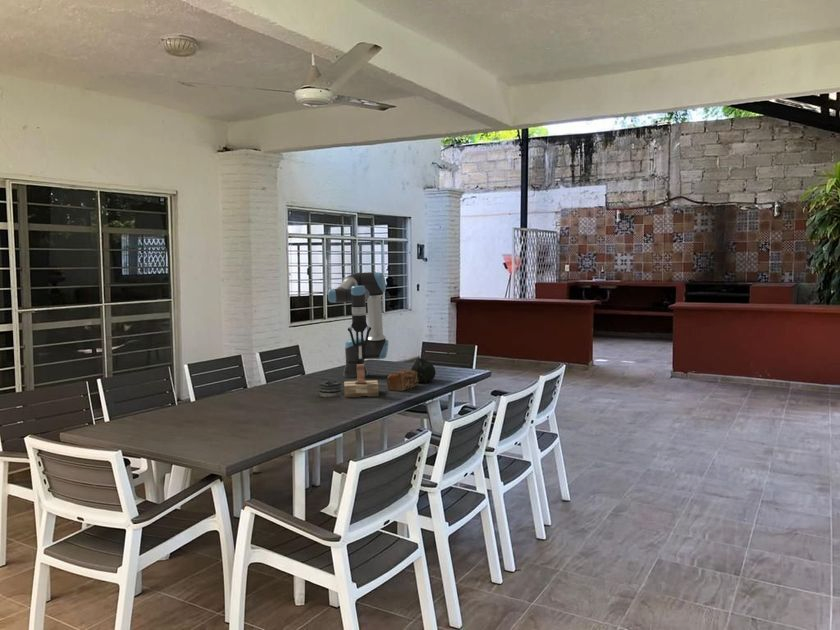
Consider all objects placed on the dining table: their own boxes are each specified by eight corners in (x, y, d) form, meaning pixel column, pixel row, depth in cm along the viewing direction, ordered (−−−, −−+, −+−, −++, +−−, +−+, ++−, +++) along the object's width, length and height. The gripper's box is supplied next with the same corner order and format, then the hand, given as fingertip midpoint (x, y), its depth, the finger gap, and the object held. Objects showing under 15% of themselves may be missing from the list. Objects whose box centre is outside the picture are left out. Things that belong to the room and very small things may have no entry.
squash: (439, 370, 392) (422, 351, 391) (440, 375, 377) (422, 356, 376) (422, 385, 393) (405, 367, 392) (422, 392, 379) (404, 373, 377)
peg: (357, 389, 356) (356, 364, 355) (364, 389, 356) (364, 364, 355) (357, 391, 352) (356, 365, 351) (365, 391, 352) (364, 365, 351)
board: (344, 392, 360) (344, 381, 360) (377, 390, 362) (377, 380, 362) (344, 397, 346) (344, 386, 346) (378, 395, 348) (378, 384, 348)
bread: (402, 392, 358) (402, 373, 357) (386, 390, 364) (385, 372, 363) (419, 385, 374) (419, 368, 373) (403, 384, 380) (403, 367, 379)
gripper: (346, 315, 346) (348, 360, 348) (371, 314, 347) (372, 359, 350) (346, 314, 353) (348, 357, 356) (370, 313, 355) (372, 356, 357)
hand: (360, 358), depth 353 cm, fingers closed
